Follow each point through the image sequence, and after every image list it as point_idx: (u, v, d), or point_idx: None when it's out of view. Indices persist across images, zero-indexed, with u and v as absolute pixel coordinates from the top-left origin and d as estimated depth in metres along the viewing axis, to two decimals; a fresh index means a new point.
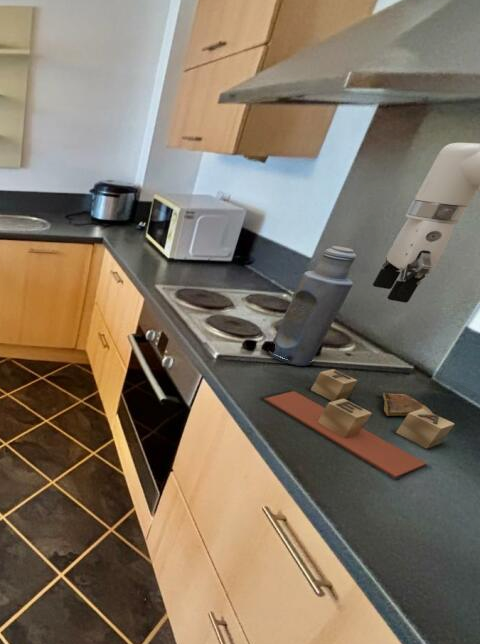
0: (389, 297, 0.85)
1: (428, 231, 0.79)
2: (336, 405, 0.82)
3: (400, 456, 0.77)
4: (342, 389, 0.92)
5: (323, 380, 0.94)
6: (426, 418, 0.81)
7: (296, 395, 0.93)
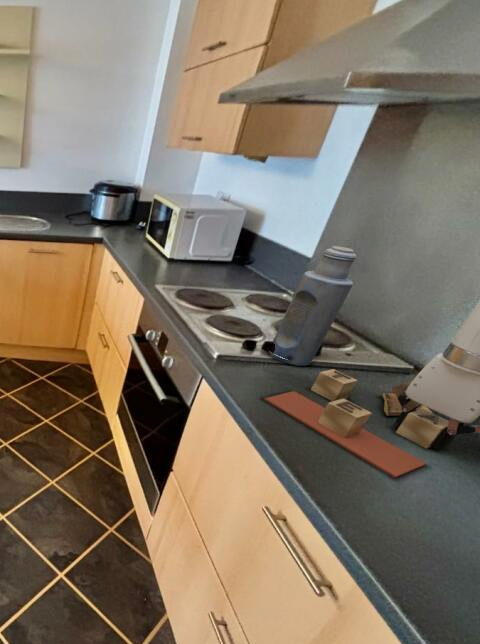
0: (435, 447, 0.80)
1: None
2: (336, 405, 0.82)
3: (400, 456, 0.77)
4: (342, 389, 0.92)
5: (323, 380, 0.94)
6: (426, 418, 0.81)
7: (296, 395, 0.93)
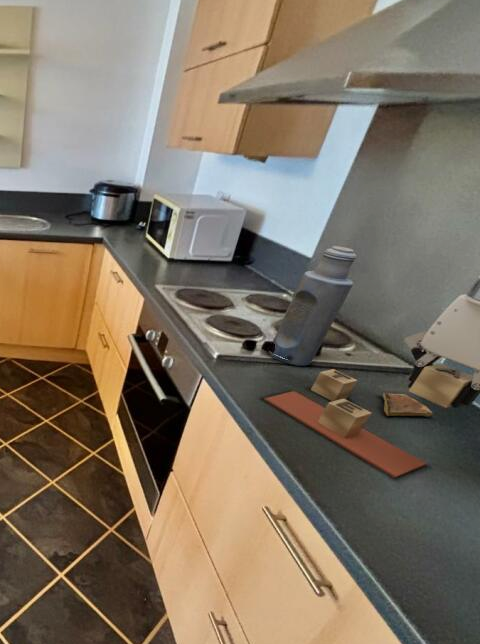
0: (457, 406, 0.67)
1: None
2: (336, 405, 0.82)
3: (400, 456, 0.77)
4: (342, 389, 0.92)
5: (323, 380, 0.94)
6: (445, 372, 0.68)
7: (296, 395, 0.93)
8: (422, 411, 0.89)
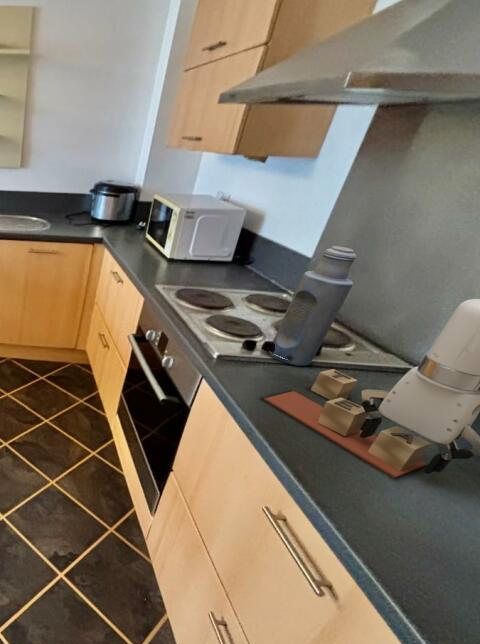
0: (428, 472, 0.71)
1: (474, 406, 0.65)
2: (334, 403, 0.82)
3: None
4: (342, 389, 0.92)
5: (323, 380, 0.94)
6: (399, 437, 0.74)
7: (296, 395, 0.93)
8: None
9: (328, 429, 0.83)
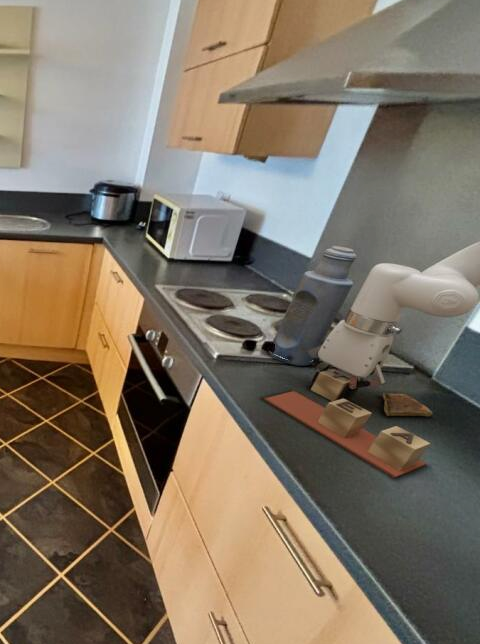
0: None
1: (383, 346, 0.85)
2: (336, 405, 0.82)
3: None
4: (342, 389, 0.92)
5: (323, 380, 0.94)
6: (399, 437, 0.74)
7: (296, 395, 0.93)
8: (422, 411, 0.89)
9: (328, 429, 0.83)
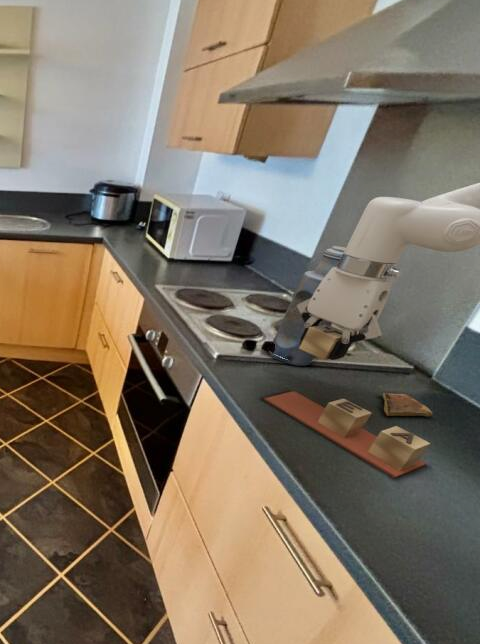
0: (332, 358, 0.82)
1: (380, 292, 0.74)
2: (336, 405, 0.82)
3: None
4: (333, 345, 0.81)
5: (312, 336, 0.84)
6: (399, 437, 0.74)
7: (296, 395, 0.93)
8: (422, 411, 0.89)
9: (328, 429, 0.83)
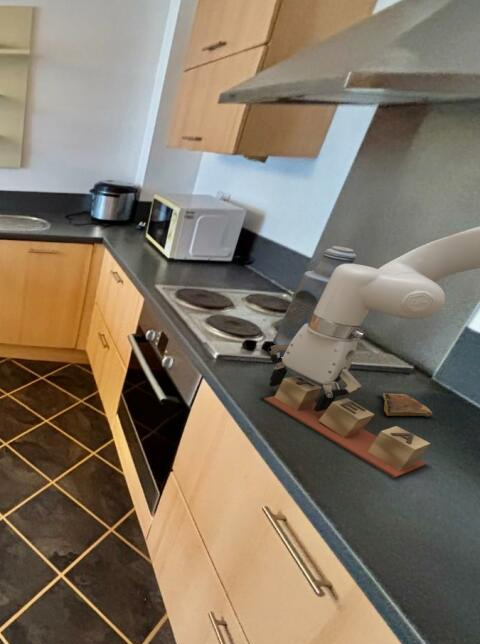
0: (317, 410, 0.85)
1: (347, 351, 0.80)
2: (340, 405, 0.81)
3: None
4: (305, 397, 0.87)
5: (286, 387, 0.89)
6: (399, 437, 0.74)
7: None
8: (422, 411, 0.89)
9: (328, 429, 0.83)
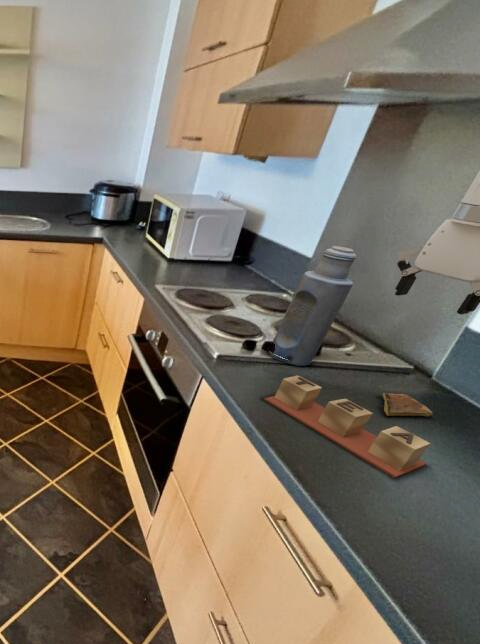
0: (462, 312, 0.78)
1: None
2: (336, 404, 0.82)
3: None
4: (305, 397, 0.87)
5: (286, 387, 0.89)
6: (399, 437, 0.74)
7: None
8: (422, 411, 0.89)
9: (328, 429, 0.83)
